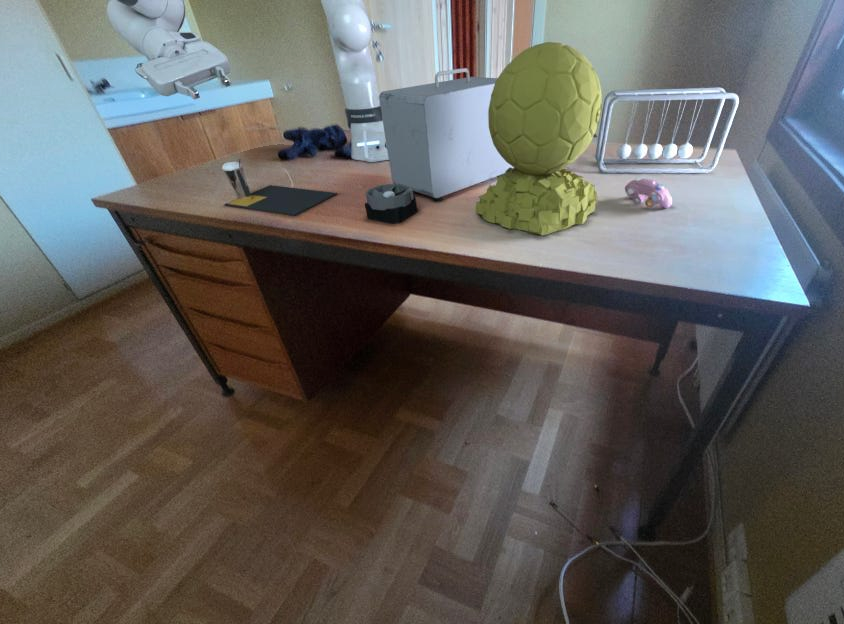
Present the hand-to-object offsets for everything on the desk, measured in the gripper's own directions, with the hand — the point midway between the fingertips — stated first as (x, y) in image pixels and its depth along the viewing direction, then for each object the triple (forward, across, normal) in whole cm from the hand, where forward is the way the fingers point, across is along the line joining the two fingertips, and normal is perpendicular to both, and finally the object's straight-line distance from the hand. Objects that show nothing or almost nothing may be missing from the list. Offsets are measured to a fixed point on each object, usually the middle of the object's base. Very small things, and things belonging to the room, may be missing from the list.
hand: (213, 89), depth 98 cm
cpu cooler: (+58, -2, -8) cm, 59 cm away
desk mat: (+28, -8, +9) cm, 31 cm away
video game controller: (+103, +28, -30) cm, 111 cm away
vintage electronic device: (+60, +24, -4) cm, 65 cm away
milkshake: (+22, -13, +12) cm, 28 cm away
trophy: (+85, +13, -22) cm, 88 cm away
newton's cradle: (+100, +58, -22) cm, 118 cm away
